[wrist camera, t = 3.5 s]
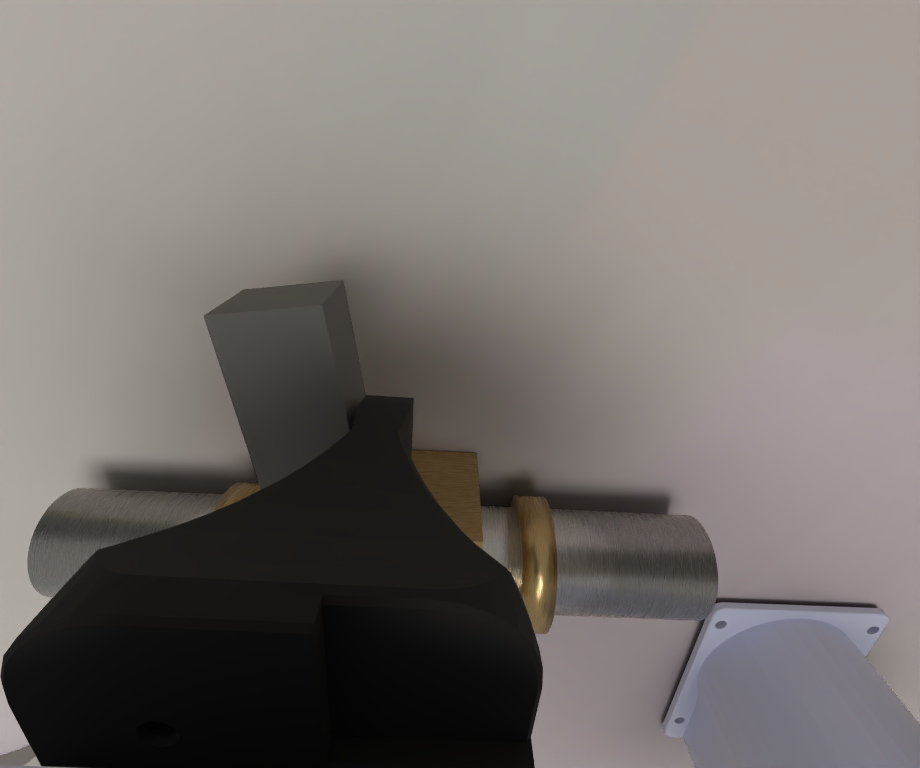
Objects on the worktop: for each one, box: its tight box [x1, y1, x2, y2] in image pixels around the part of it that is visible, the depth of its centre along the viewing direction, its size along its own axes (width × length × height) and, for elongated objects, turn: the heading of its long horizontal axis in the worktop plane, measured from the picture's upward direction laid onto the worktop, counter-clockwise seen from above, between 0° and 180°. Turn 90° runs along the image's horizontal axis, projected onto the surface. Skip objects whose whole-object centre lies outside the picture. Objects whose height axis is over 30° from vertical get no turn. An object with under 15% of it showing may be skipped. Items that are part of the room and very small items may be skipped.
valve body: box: [28, 450, 718, 634], centre depth 17 cm, size 22×6×5 cm, turn 86°
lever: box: [204, 280, 366, 489], centre depth 12 cm, size 12×3×2 cm, turn 5°
